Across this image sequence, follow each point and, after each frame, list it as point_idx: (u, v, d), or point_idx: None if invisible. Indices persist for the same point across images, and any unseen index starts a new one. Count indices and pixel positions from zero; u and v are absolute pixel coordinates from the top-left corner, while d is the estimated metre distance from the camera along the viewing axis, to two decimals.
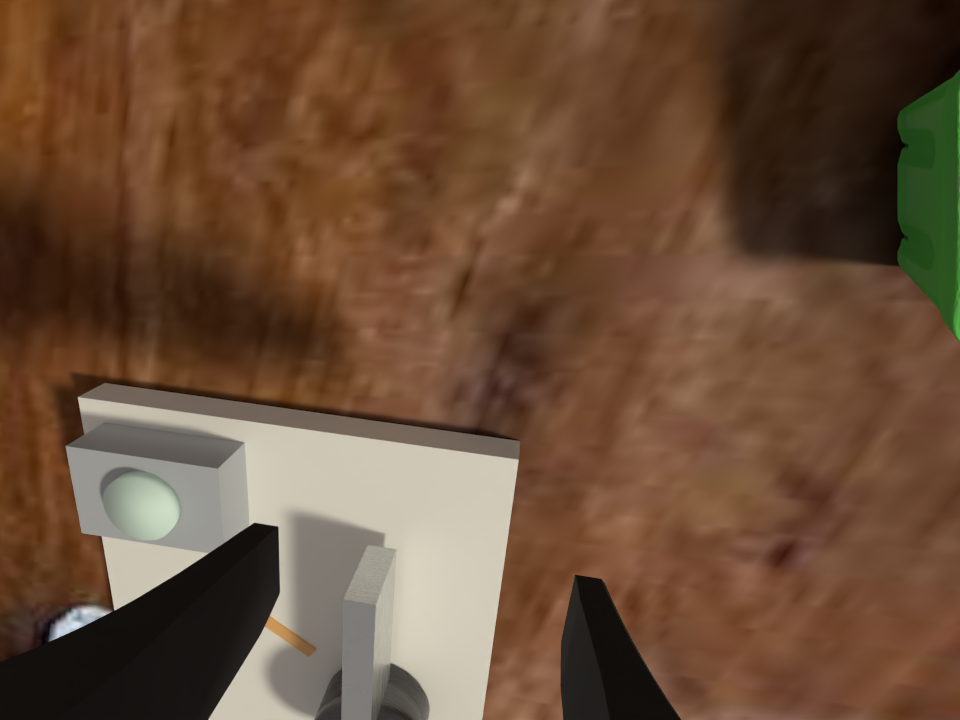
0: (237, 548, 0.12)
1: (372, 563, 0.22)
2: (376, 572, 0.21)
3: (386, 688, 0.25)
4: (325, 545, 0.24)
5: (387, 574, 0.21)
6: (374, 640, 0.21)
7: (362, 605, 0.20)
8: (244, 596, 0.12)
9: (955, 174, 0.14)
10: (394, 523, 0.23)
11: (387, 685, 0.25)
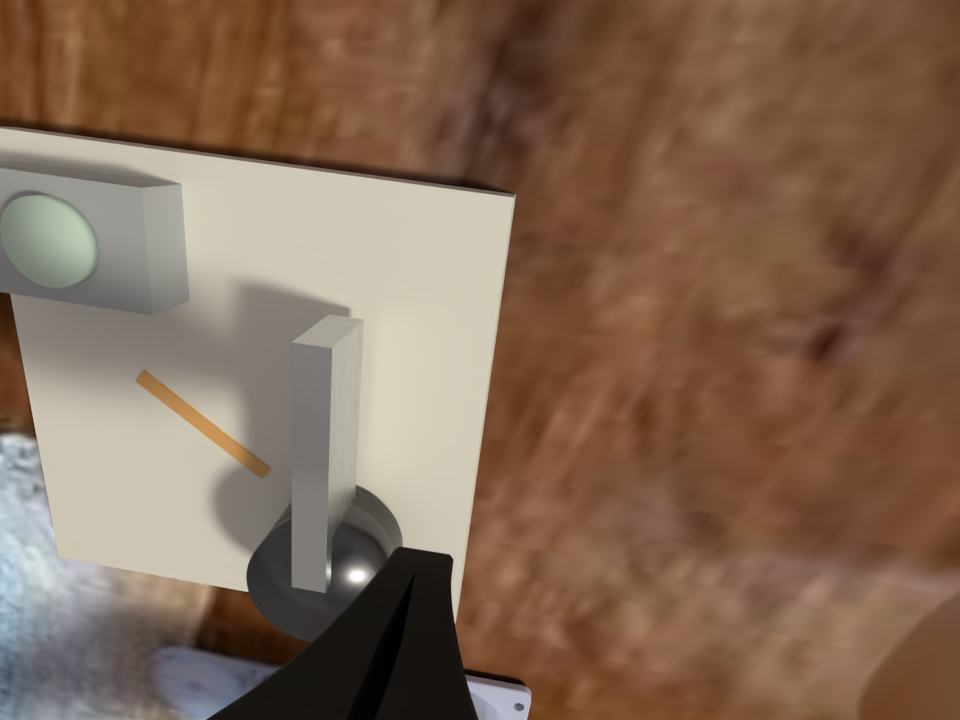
0: (398, 575, 0.12)
1: (332, 324, 0.18)
2: (336, 330, 0.17)
3: (350, 505, 0.21)
4: (280, 326, 0.20)
5: (350, 333, 0.18)
6: (330, 402, 0.17)
7: (316, 350, 0.16)
8: (404, 624, 0.12)
9: None
10: (362, 293, 0.19)
11: (352, 502, 0.21)
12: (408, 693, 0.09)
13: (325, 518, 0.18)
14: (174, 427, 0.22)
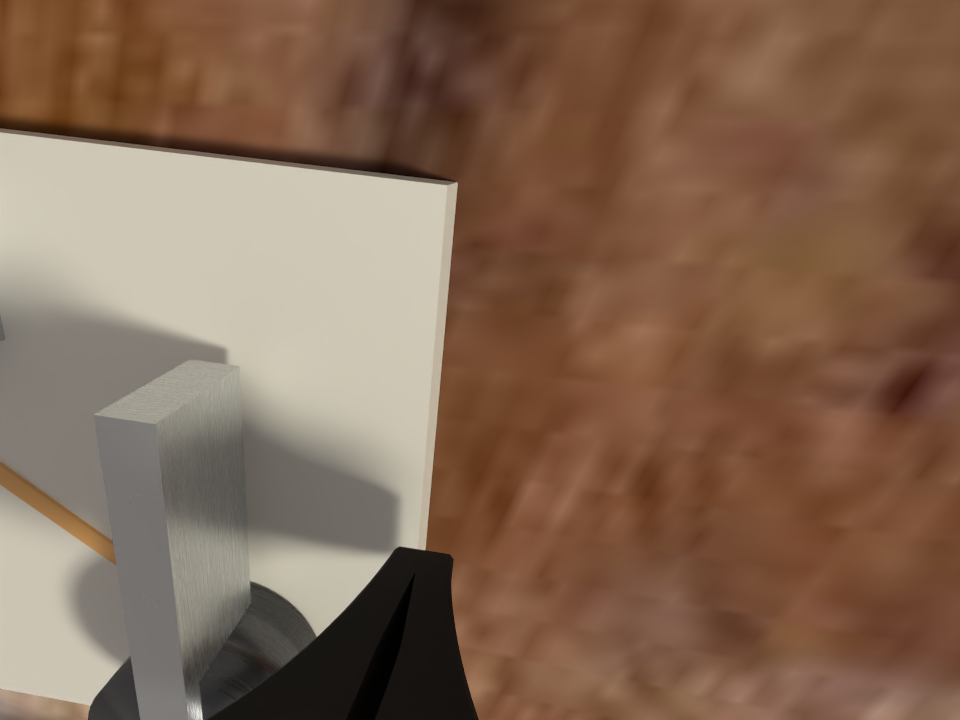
0: (398, 575, 0.12)
1: (183, 378, 0.12)
2: (184, 387, 0.12)
3: (240, 619, 0.15)
4: (132, 374, 0.14)
5: (205, 392, 0.12)
6: (165, 503, 0.11)
7: (131, 427, 0.10)
8: (404, 623, 0.12)
9: None
10: (240, 327, 0.13)
11: (243, 615, 0.15)
12: (408, 693, 0.09)
13: (180, 664, 0.12)
14: (9, 508, 0.16)
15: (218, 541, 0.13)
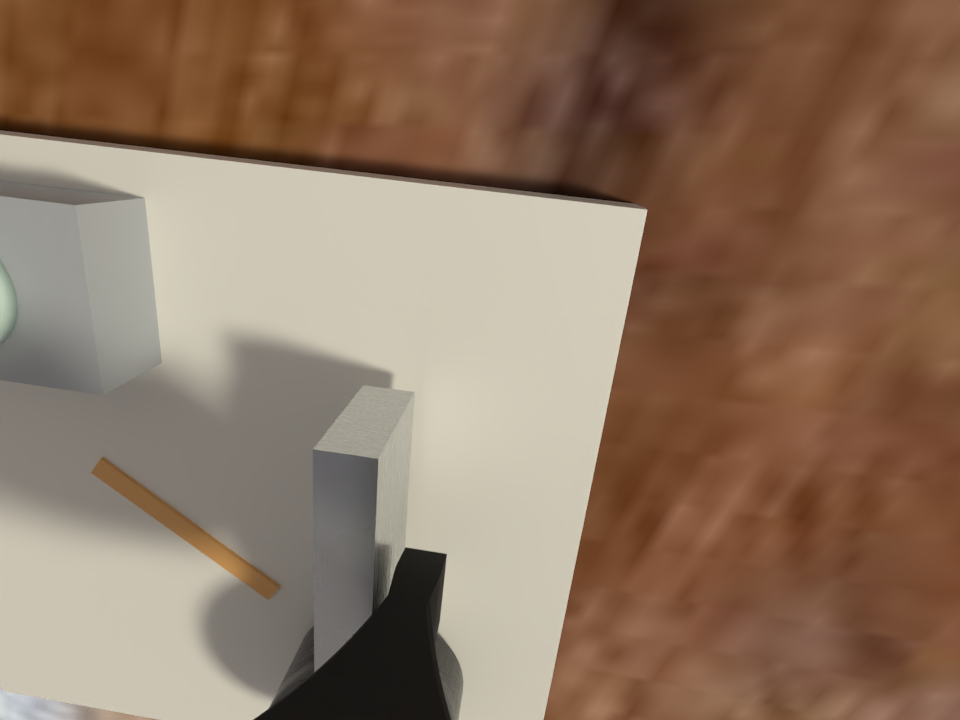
0: (423, 579, 0.12)
1: (370, 406, 0.12)
2: (379, 417, 0.11)
3: None
4: (292, 399, 0.14)
5: (399, 421, 0.11)
6: (375, 537, 0.11)
7: (352, 461, 0.10)
8: None
9: None
10: (412, 352, 0.13)
11: None
12: (380, 688, 0.09)
13: None
14: (147, 532, 0.16)
15: (392, 570, 0.13)
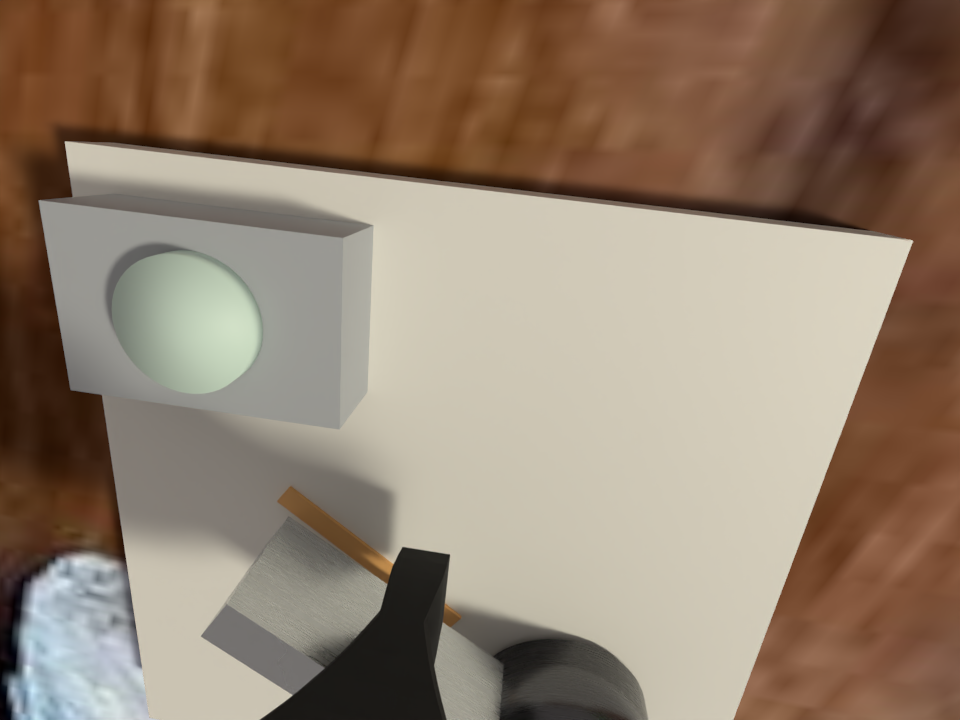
0: (426, 579, 0.12)
1: (255, 560, 0.14)
2: (253, 564, 0.13)
3: (501, 683, 0.15)
4: (501, 429, 0.14)
5: (265, 553, 0.13)
6: (297, 648, 0.12)
7: (221, 620, 0.12)
8: (433, 628, 0.12)
9: None
10: (637, 382, 0.13)
11: (502, 678, 0.15)
12: (376, 687, 0.09)
13: None
14: None
15: None
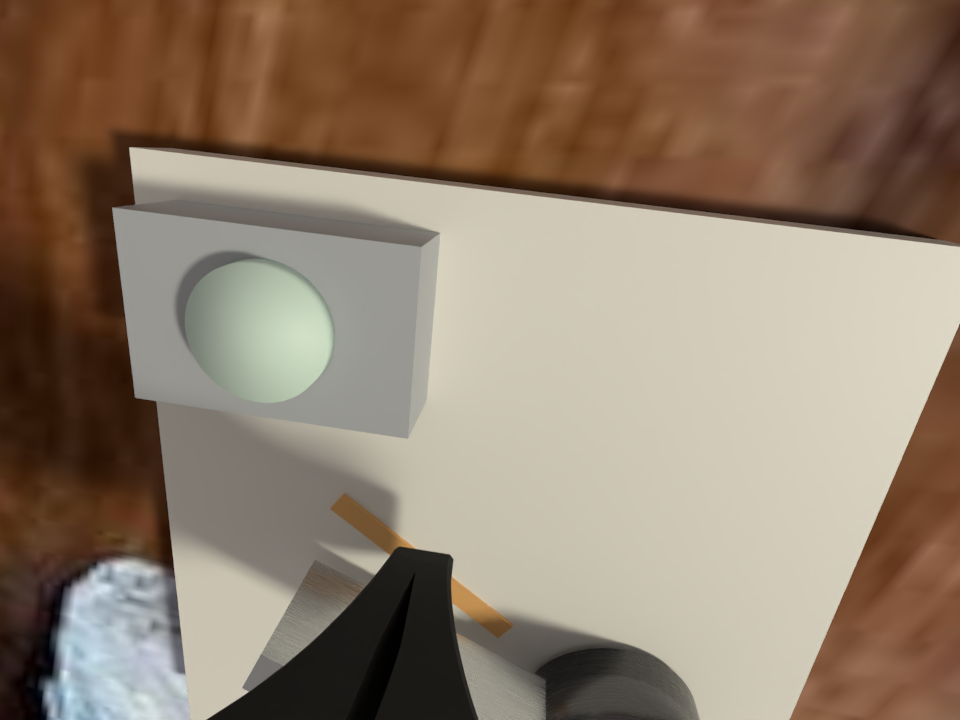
0: (398, 575, 0.12)
1: None
2: None
3: (544, 699, 0.15)
4: (561, 437, 0.13)
5: (295, 600, 0.13)
6: None
7: (258, 670, 0.12)
8: (404, 624, 0.12)
9: None
10: (702, 391, 0.13)
11: (545, 694, 0.15)
12: (408, 693, 0.09)
13: None
14: (377, 568, 0.15)
15: None
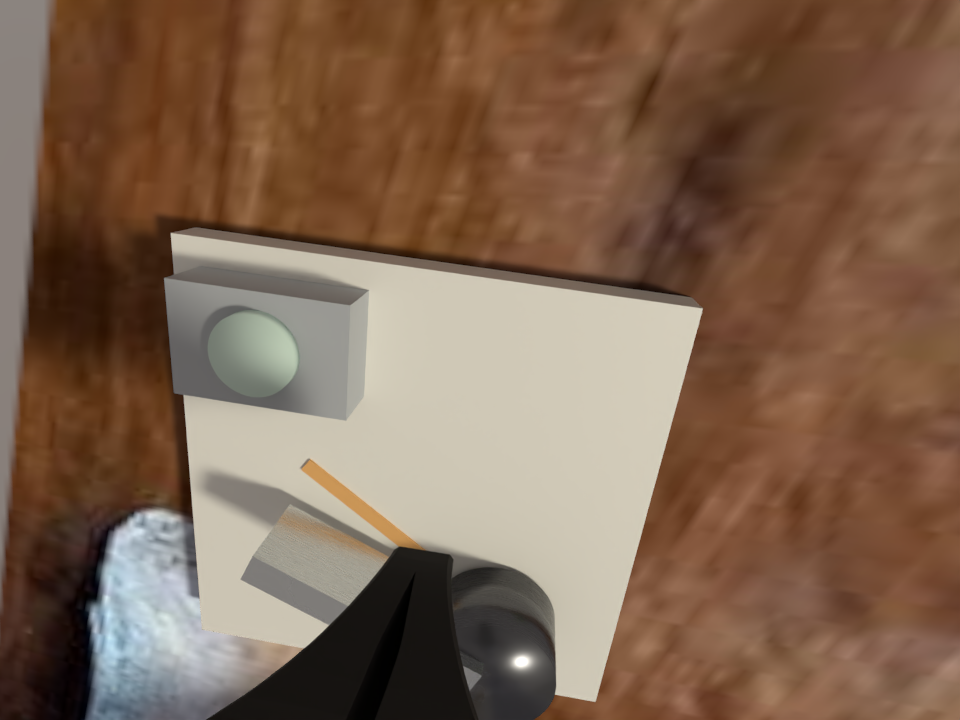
0: (398, 575, 0.12)
1: None
2: None
3: None
4: (452, 422, 0.20)
5: (275, 527, 0.20)
6: (299, 579, 0.19)
7: (251, 567, 0.19)
8: (404, 624, 0.12)
9: None
10: (539, 393, 0.20)
11: None
12: (408, 693, 0.09)
13: None
14: (334, 512, 0.22)
15: (369, 575, 0.21)
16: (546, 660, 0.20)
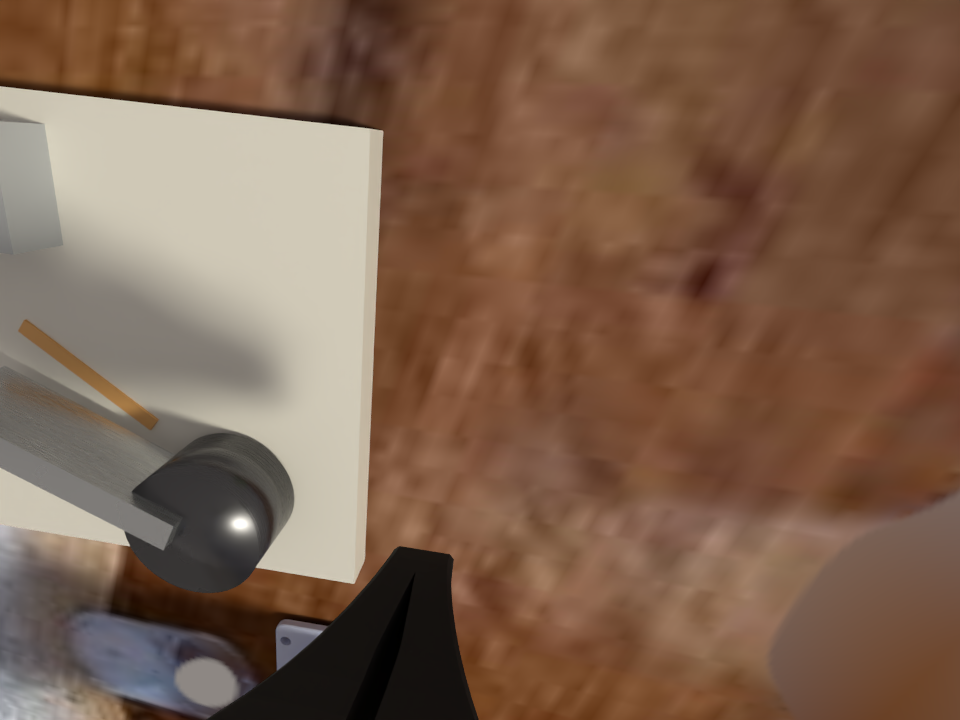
0: (398, 575, 0.12)
1: None
2: None
3: (165, 462, 0.21)
4: (154, 270, 0.20)
5: None
6: None
7: None
8: (404, 624, 0.12)
9: None
10: (231, 233, 0.19)
11: (167, 460, 0.21)
12: (408, 693, 0.09)
13: (89, 484, 0.19)
14: (60, 378, 0.22)
15: (74, 432, 0.20)
16: (241, 511, 0.19)
